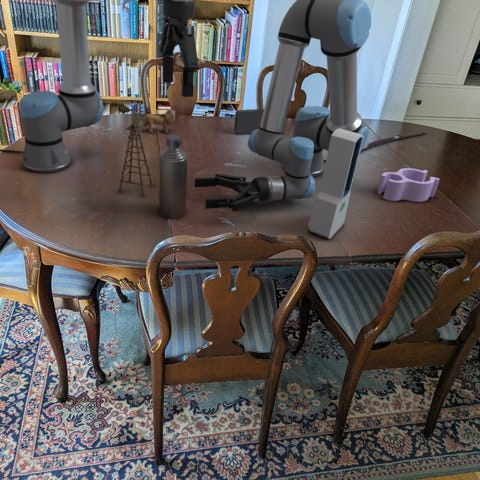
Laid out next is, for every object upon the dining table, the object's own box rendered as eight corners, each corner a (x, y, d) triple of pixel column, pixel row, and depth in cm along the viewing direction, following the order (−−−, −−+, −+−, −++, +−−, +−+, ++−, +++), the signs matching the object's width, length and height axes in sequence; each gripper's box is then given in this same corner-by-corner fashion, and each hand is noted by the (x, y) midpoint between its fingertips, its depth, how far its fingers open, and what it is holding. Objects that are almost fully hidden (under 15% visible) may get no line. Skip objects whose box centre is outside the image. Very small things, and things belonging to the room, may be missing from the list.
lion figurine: (173, 128, 199) (174, 107, 194) (176, 132, 195) (177, 111, 190) (139, 129, 194) (138, 108, 189) (141, 134, 190) (140, 112, 185)
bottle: (158, 218, 136) (158, 143, 124) (160, 205, 143) (159, 133, 130) (185, 218, 138) (188, 145, 125) (185, 206, 144) (188, 134, 132)
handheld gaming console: (281, 130, 209) (284, 108, 204) (284, 133, 207) (287, 110, 202) (233, 132, 202) (235, 109, 197) (235, 134, 200) (237, 111, 195)
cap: (166, 147, 127) (166, 139, 126) (166, 141, 130) (166, 134, 129) (180, 148, 127) (181, 140, 126) (181, 142, 131) (181, 135, 129)
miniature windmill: (143, 196, 146) (140, 101, 130) (117, 192, 147) (112, 96, 131) (153, 184, 154) (152, 93, 137) (129, 180, 155) (125, 88, 138)
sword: (406, 133, 221) (407, 131, 220) (412, 136, 219) (412, 133, 218) (363, 145, 205) (363, 143, 204) (368, 148, 203) (369, 145, 202)
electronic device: (328, 241, 134) (351, 142, 118) (305, 232, 137) (324, 134, 121) (344, 224, 143) (367, 130, 127) (322, 215, 146) (342, 123, 130)
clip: (390, 204, 157) (396, 186, 154) (370, 187, 167) (375, 170, 163) (438, 200, 164) (444, 182, 160) (416, 184, 173) (422, 167, 170)
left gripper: (146, -9, 119) (148, 77, 130) (184, 6, 101) (182, 104, 112) (174, -7, 122) (173, 76, 134) (215, 7, 104) (210, 102, 116)
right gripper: (279, 219, 137) (209, 225, 131) (252, 182, 157) (190, 185, 151) (283, 197, 133) (211, 202, 127) (254, 161, 153) (191, 164, 147)
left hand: (177, 89), depth 123 cm, fingers open, 13 cm apart
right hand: (199, 193), depth 139 cm, fingers open, 13 cm apart
